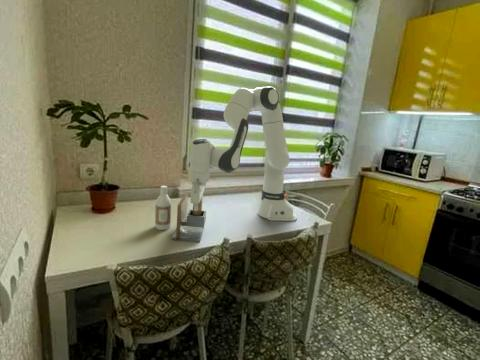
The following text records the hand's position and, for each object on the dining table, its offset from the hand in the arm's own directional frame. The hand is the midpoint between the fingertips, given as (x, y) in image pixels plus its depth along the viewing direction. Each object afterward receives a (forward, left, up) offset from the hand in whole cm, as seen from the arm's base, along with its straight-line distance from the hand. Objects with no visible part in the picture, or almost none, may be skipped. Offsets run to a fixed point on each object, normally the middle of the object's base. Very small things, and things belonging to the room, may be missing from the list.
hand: (197, 206), depth 125 cm
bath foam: (+16, -4, -13) cm, 21 cm away
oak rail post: (0, 0, -7) cm, 7 cm away
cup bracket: (+3, 0, -13) cm, 13 cm away
